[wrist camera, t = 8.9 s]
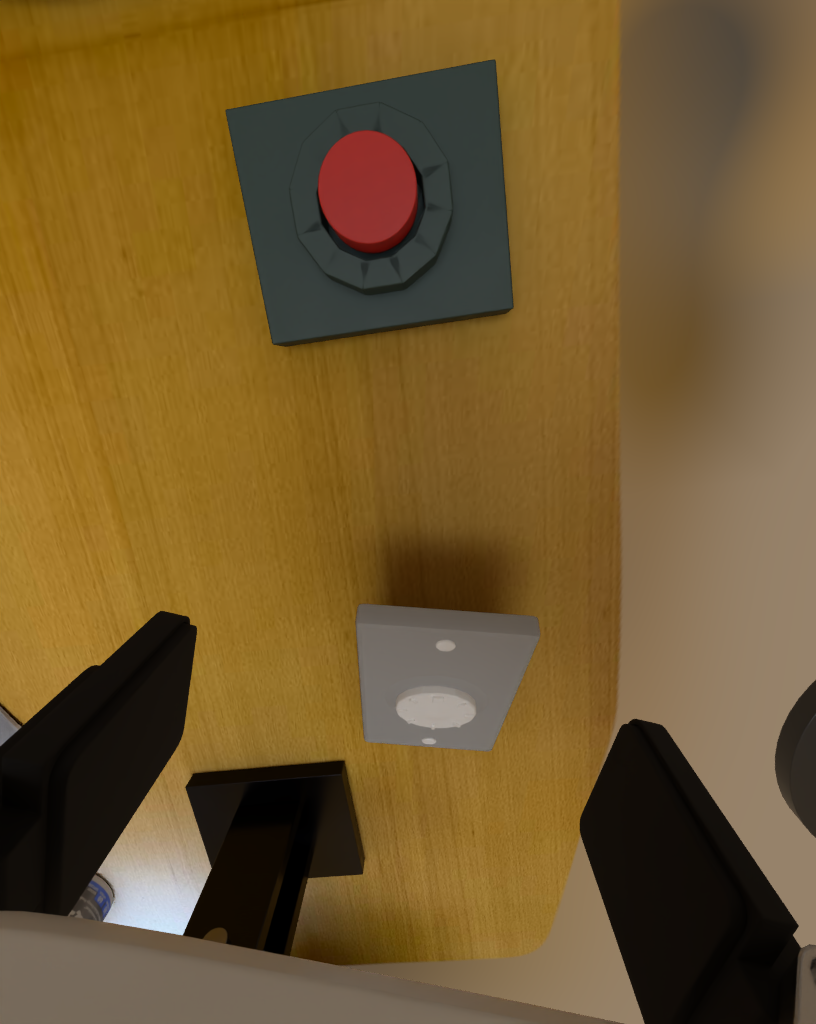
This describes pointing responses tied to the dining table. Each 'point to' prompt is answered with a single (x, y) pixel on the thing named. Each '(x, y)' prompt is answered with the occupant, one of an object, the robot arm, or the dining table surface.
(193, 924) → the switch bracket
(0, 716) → the donut
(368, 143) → the stop button
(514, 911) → the dining table surface
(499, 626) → the light switch
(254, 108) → the block
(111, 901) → the pill bottle
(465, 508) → the dining table surface
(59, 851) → the robot arm
